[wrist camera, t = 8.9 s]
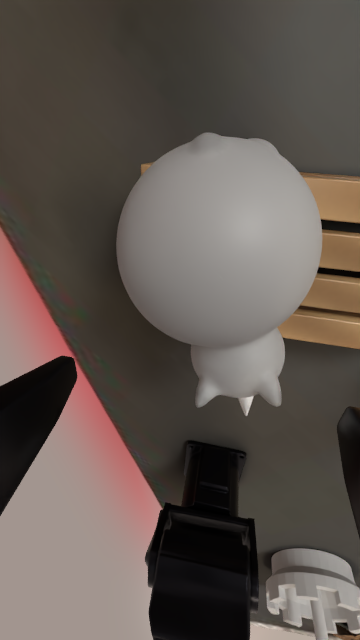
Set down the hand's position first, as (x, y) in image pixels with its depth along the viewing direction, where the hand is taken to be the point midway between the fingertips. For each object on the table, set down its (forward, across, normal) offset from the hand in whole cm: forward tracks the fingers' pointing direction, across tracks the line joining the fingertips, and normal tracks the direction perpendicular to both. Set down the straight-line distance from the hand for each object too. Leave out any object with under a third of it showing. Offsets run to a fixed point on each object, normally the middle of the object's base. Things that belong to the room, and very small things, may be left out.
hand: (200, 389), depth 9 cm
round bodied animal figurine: (+9, 0, -1) cm, 9 cm away
